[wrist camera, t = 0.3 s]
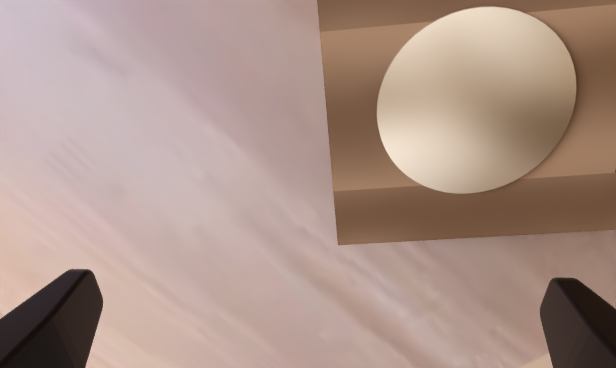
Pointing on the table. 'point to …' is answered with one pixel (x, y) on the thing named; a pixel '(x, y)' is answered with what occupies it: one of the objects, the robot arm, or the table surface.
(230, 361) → the table surface
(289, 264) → the table surface
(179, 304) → the table surface
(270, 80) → the table surface
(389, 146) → the pocket block
